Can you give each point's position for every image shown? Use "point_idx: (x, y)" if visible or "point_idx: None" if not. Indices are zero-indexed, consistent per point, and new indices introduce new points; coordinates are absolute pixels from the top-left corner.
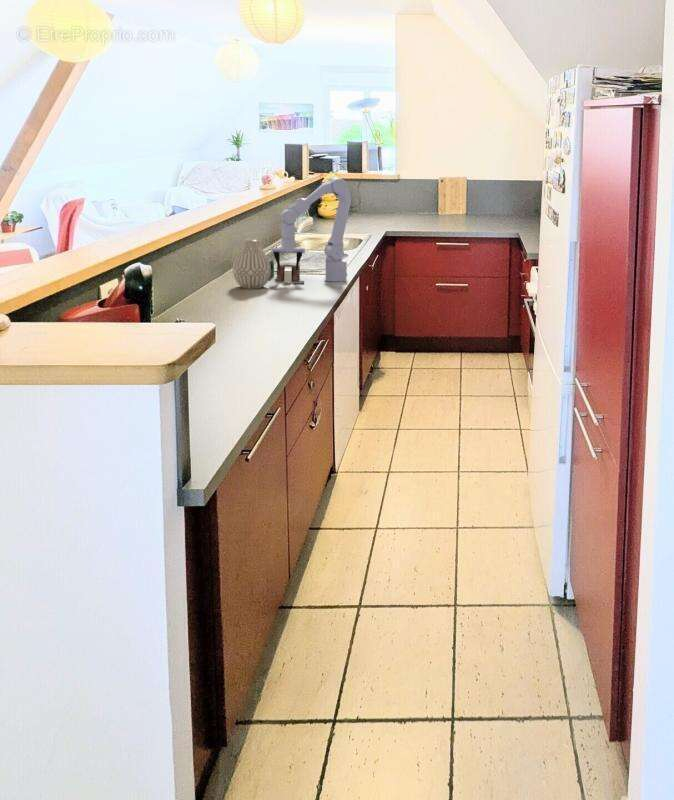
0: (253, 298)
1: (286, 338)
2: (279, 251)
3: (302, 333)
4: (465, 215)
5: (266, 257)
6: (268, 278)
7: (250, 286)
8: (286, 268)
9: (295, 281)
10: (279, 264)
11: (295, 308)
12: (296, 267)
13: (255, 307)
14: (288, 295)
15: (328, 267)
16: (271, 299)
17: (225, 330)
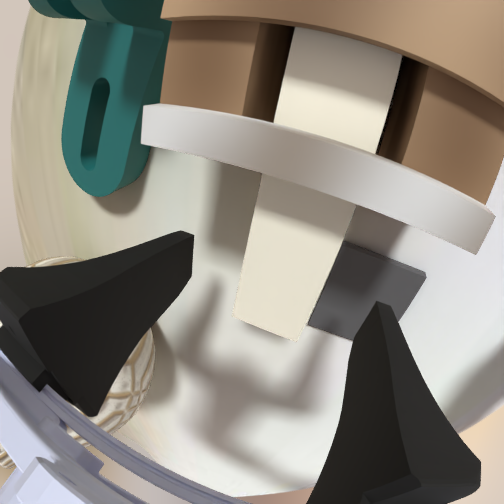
0: (152, 410)
1: None
2: (50, 412)
3: (226, 494)
4: None
5: (87, 445)
6: (151, 380)
7: None
8: (280, 197)
9: (351, 281)
10: (156, 319)
11: (233, 474)
12: (352, 365)
13: (169, 443)
14: (236, 436)
15: None
16: (192, 434)
17: (156, 460)
